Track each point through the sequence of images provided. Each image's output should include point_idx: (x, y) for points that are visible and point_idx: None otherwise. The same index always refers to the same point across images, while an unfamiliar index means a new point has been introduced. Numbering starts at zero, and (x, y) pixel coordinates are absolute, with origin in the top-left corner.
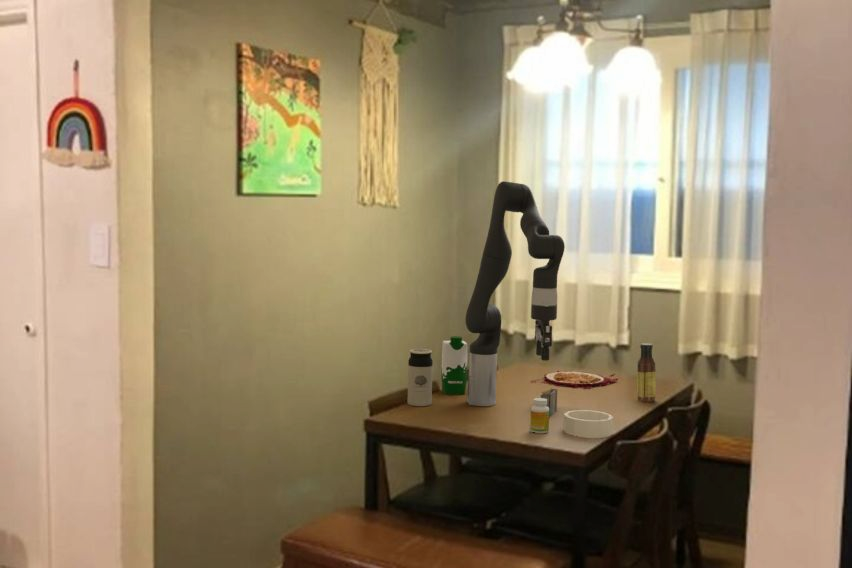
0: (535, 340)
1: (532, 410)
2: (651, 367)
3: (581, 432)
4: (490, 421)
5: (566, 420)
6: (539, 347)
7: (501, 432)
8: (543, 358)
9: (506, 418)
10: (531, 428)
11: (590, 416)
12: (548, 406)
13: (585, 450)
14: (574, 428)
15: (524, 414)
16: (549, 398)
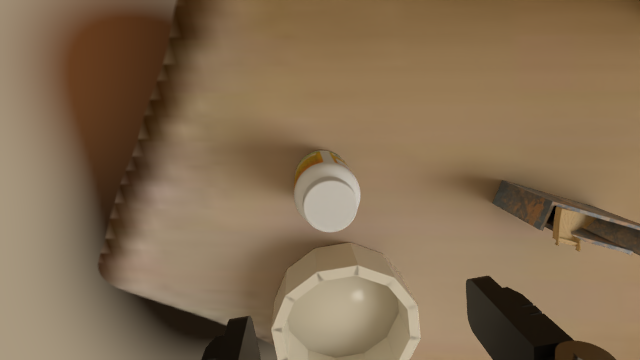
0: (592, 351)
1: (309, 167)
2: None
3: (279, 293)
4: (431, 17)
5: (315, 267)
6: (505, 340)
7: (287, 58)
8: (213, 339)
9: (479, 73)
10: (309, 154)
11: (403, 330)
12: (515, 215)
13: (143, 291)
14: (286, 280)
15: (537, 132)
16: (552, 226)
